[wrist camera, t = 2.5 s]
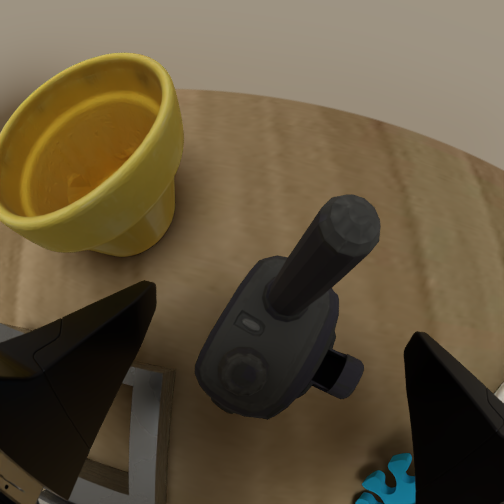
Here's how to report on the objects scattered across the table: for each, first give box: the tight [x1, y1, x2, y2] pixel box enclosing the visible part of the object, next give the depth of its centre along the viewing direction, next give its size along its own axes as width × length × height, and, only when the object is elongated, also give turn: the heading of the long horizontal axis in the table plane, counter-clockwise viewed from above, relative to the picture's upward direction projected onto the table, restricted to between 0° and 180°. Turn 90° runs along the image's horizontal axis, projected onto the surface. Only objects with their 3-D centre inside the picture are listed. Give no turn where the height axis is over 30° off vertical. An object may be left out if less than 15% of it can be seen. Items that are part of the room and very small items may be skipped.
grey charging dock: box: [0, 323, 175, 504], centre depth 12 cm, size 16×12×3 cm
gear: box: [355, 453, 416, 504], centre depth 11 cm, size 11×6×10 cm
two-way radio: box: [195, 195, 380, 420], centre depth 10 cm, size 6×4×15 cm
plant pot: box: [0, 53, 184, 257], centre depth 14 cm, size 10×10×10 cm
